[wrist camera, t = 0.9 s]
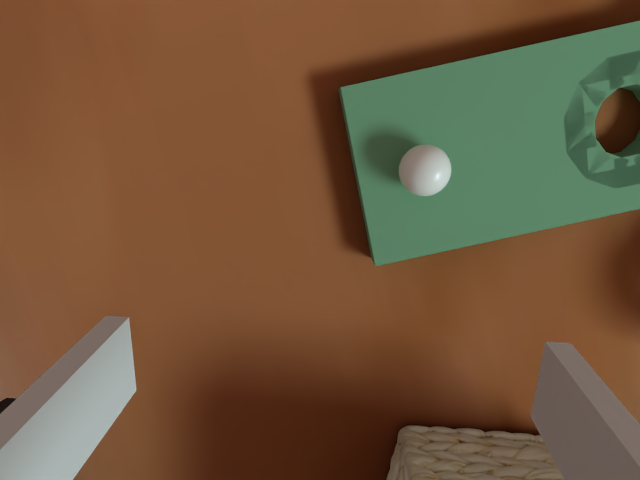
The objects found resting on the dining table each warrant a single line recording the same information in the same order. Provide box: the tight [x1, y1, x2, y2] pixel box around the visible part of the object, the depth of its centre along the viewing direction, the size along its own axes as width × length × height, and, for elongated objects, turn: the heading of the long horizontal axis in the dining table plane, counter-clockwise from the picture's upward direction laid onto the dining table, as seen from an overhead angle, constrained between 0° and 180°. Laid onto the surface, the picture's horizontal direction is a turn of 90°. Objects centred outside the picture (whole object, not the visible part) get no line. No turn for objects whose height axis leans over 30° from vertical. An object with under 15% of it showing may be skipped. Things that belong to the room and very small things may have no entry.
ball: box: [399, 144, 451, 196], centre depth 30 cm, size 3×3×3 cm
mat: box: [338, 21, 640, 266], centre depth 32 cm, size 24×12×2 cm, turn 102°
